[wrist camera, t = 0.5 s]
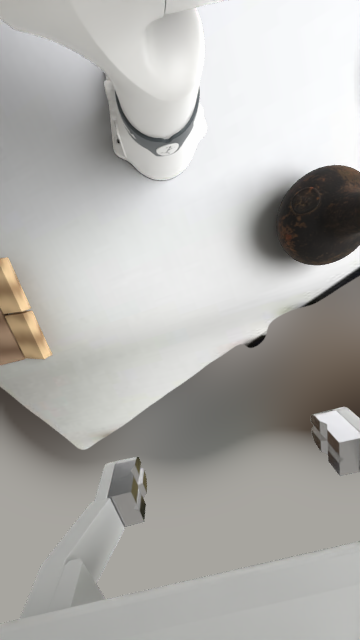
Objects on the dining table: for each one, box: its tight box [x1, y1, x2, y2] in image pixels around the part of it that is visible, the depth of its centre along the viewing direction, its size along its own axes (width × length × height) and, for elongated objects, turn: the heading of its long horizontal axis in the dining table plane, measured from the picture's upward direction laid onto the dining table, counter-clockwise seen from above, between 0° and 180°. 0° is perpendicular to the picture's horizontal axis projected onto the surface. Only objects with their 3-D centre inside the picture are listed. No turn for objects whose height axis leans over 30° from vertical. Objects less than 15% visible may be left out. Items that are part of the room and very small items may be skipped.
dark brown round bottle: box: [277, 165, 360, 265], centre depth 37 cm, size 18×18×28 cm
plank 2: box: [5, 311, 52, 359], centre depth 51 cm, size 11×8×2 cm
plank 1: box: [0, 257, 31, 314], centre depth 48 cm, size 11×8×2 cm
